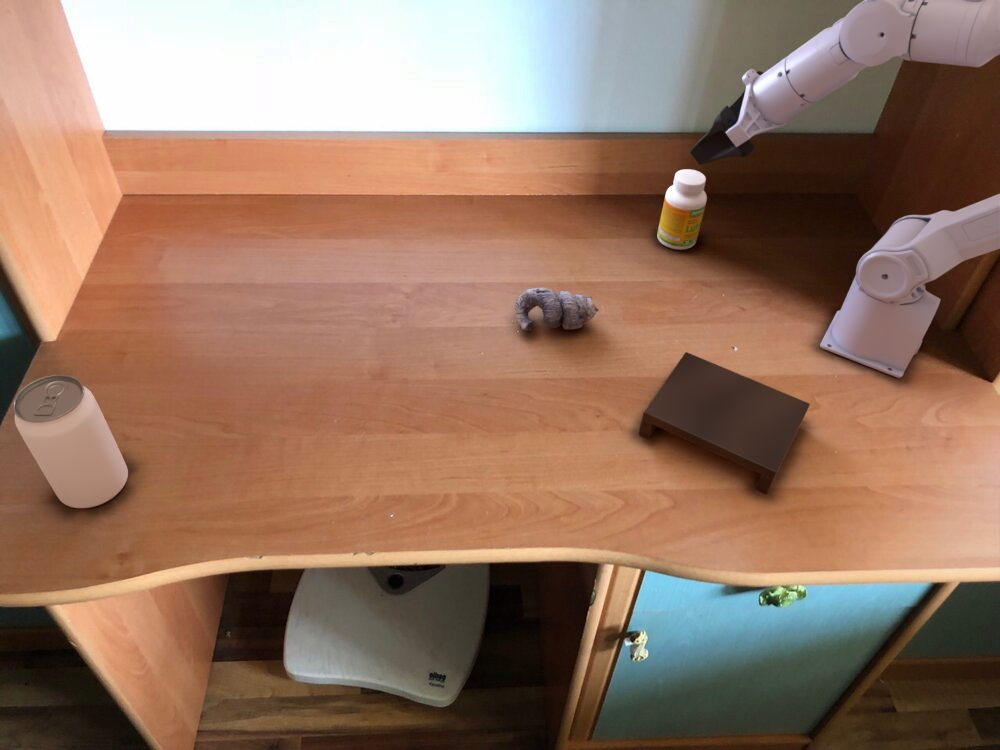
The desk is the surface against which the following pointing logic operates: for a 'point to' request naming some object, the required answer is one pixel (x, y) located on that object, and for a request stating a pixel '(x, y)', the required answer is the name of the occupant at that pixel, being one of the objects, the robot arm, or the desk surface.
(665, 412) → the shelf
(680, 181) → the supplement bottle
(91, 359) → the desk surface
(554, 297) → the seashell
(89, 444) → the can
